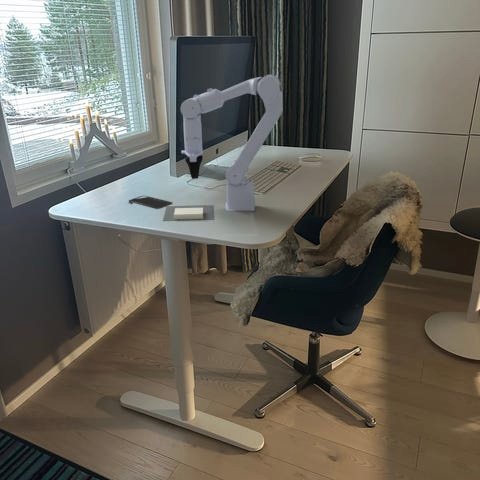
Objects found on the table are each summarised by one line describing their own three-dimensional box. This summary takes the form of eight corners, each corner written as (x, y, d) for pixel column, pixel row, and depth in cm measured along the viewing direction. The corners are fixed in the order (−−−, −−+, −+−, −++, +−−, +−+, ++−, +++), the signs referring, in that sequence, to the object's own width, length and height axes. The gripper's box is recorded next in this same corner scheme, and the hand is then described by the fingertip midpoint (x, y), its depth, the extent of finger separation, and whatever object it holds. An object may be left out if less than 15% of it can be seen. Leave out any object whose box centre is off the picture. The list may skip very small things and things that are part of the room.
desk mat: (213, 206, 155) (213, 205, 155) (214, 221, 142) (214, 219, 142) (166, 207, 154) (166, 206, 154) (162, 222, 142) (162, 221, 141)
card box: (203, 207, 148) (202, 213, 142) (203, 212, 149) (202, 218, 143) (175, 208, 147) (173, 214, 142) (175, 212, 148) (174, 219, 143)
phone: (157, 208, 151) (127, 200, 159) (158, 212, 152) (127, 203, 160) (174, 202, 157) (143, 195, 165) (174, 205, 158) (144, 197, 166)
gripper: (181, 133, 153) (184, 172, 158) (179, 142, 140) (181, 184, 145) (202, 133, 153) (204, 172, 159) (202, 141, 140) (203, 184, 145)
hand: (194, 178), depth 152 cm, fingers closed
